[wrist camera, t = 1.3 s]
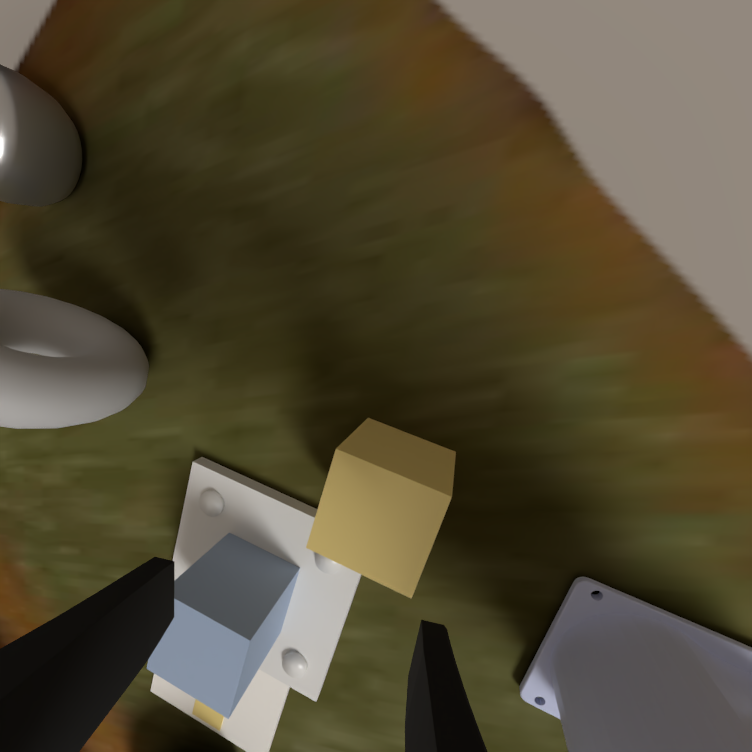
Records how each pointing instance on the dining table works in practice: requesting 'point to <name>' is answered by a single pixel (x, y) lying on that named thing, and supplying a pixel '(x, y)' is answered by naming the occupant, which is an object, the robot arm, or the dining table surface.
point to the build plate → (284, 539)
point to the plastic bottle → (35, 144)
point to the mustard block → (383, 504)
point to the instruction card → (236, 711)
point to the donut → (63, 363)
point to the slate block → (224, 622)
